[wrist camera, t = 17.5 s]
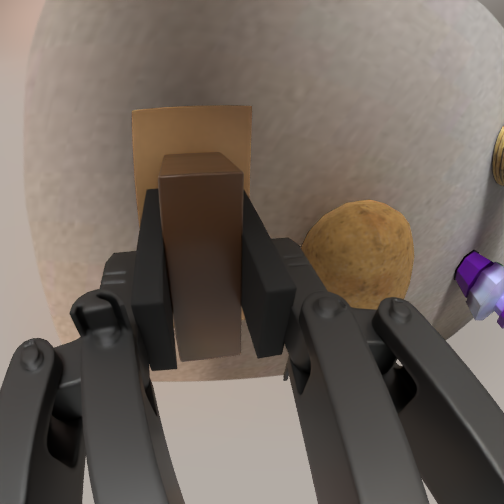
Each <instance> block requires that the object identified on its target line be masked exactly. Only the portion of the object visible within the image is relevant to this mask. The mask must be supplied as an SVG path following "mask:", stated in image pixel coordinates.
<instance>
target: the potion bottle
mask: <svg viewBox="0 0 504 504" xmlns="http://www.w3.org/2000/svg"><path fill="white" fill-rule="evenodd" d="M454 280H456V281H457V283H458V285H459V287H460V288H461V290H462V292H463V294H464V296H465V298H467V301H466V303H467V305H468V307H469V309H470V311H471V313H472V315H473V317H474V319H475V320H484V319H485V318H486V317H488V316H489V315H490V314H491V313H493V312H494V311H495V312H496V313H497V314H498V315H499V318H498V320H497V323H498V324H499V325H500V326H501V328H504V267H503V265H502V264H500V263H498V262H494V263H493V262H492V261H490V260H488V259H487V258H485V257H483V256H482V255H480V254H479V252H477V251H476V250H473V251H471V252H470V253H469V254H467V255H466V256H464V258H463V259H462V261H461V262H460V264H459V265H458V267H457V268H456V270H455V276H454Z"/></svg>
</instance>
